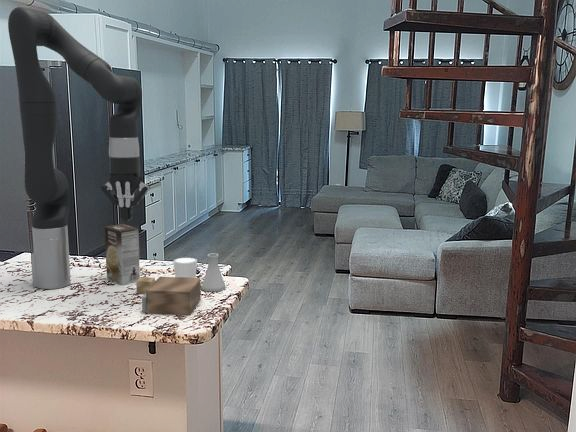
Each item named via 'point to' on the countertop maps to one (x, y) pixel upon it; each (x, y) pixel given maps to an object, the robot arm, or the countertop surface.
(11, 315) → the countertop surface
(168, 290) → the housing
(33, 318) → the countertop surface
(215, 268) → the flask
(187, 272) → the white cup
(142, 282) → the olive brown cube
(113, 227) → the coffee box
